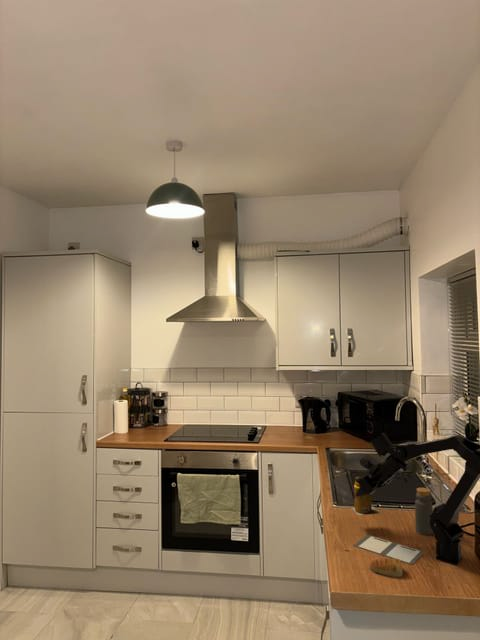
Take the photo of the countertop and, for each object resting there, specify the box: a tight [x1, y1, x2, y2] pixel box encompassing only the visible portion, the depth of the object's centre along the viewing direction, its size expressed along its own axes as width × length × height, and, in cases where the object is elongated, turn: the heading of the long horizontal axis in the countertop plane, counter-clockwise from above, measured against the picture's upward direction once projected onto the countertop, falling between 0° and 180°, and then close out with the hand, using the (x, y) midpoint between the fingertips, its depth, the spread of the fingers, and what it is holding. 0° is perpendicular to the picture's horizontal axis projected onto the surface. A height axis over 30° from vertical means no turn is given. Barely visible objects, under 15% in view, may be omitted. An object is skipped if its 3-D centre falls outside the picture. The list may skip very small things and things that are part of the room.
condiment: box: [351, 475, 381, 516], centre depth 168 cm, size 7×8×12 cm
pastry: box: [369, 557, 403, 578], centre depth 138 cm, size 9×7×4 cm
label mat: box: [352, 534, 425, 566], centre depth 152 cm, size 20×11×1 cm, turn 49°
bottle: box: [414, 487, 434, 536], centre depth 165 cm, size 6×6×15 cm
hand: (360, 492), depth 169 cm, fingers closed on condiment, 6 cm apart
